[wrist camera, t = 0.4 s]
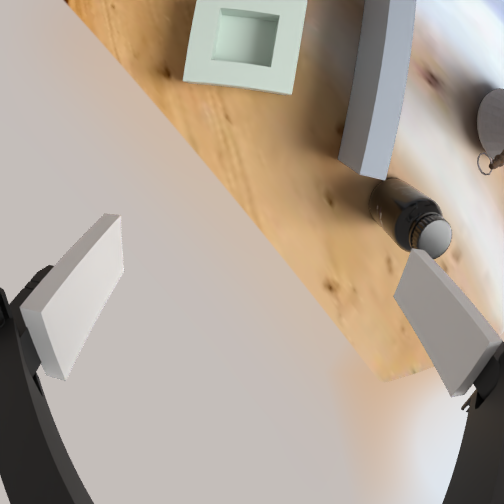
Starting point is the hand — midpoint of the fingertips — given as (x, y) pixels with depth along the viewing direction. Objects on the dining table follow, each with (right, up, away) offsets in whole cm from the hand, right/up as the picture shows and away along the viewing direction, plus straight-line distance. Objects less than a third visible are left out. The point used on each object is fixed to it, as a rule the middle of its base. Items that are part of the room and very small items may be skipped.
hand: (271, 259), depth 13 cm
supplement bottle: (+18, +7, +26) cm, 32 cm away
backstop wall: (+13, +22, +18) cm, 31 cm away
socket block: (-2, +24, +17) cm, 29 cm away
